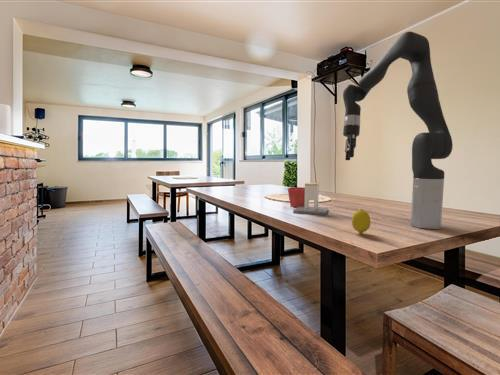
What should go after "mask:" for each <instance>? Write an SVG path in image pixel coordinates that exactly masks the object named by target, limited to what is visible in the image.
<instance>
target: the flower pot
mask: <svg viewBox="0 0 500 375" xmlns="http://www.w3.org/2000/svg"><path fill="white" fill-rule="evenodd" d="M287 191H288V192H287V193H288V200H289V204H290V207H292V208H297V207H298V206H304V204H305V187H301V186H299V187H292V186H291V187H288V188H287Z"/></svg>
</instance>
